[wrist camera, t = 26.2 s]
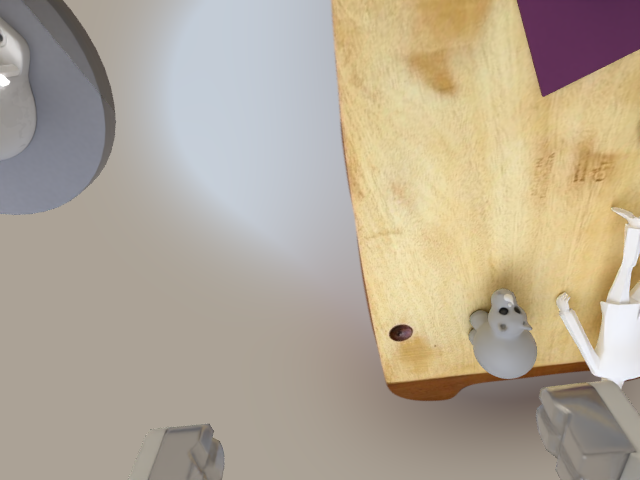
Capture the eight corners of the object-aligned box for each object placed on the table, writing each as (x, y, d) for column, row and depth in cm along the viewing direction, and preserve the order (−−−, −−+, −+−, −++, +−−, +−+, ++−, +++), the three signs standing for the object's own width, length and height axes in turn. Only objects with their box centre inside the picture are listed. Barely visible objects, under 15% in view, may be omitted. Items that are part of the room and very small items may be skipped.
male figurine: (569, 203, 47) (541, 371, 57) (602, 222, 41) (564, 405, 52) (692, 193, 46) (641, 366, 56) (743, 212, 41) (676, 400, 51)
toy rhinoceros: (527, 267, 50) (561, 316, 43) (514, 337, 56) (542, 389, 49) (467, 273, 50) (491, 322, 43) (461, 341, 57) (481, 393, 50)
